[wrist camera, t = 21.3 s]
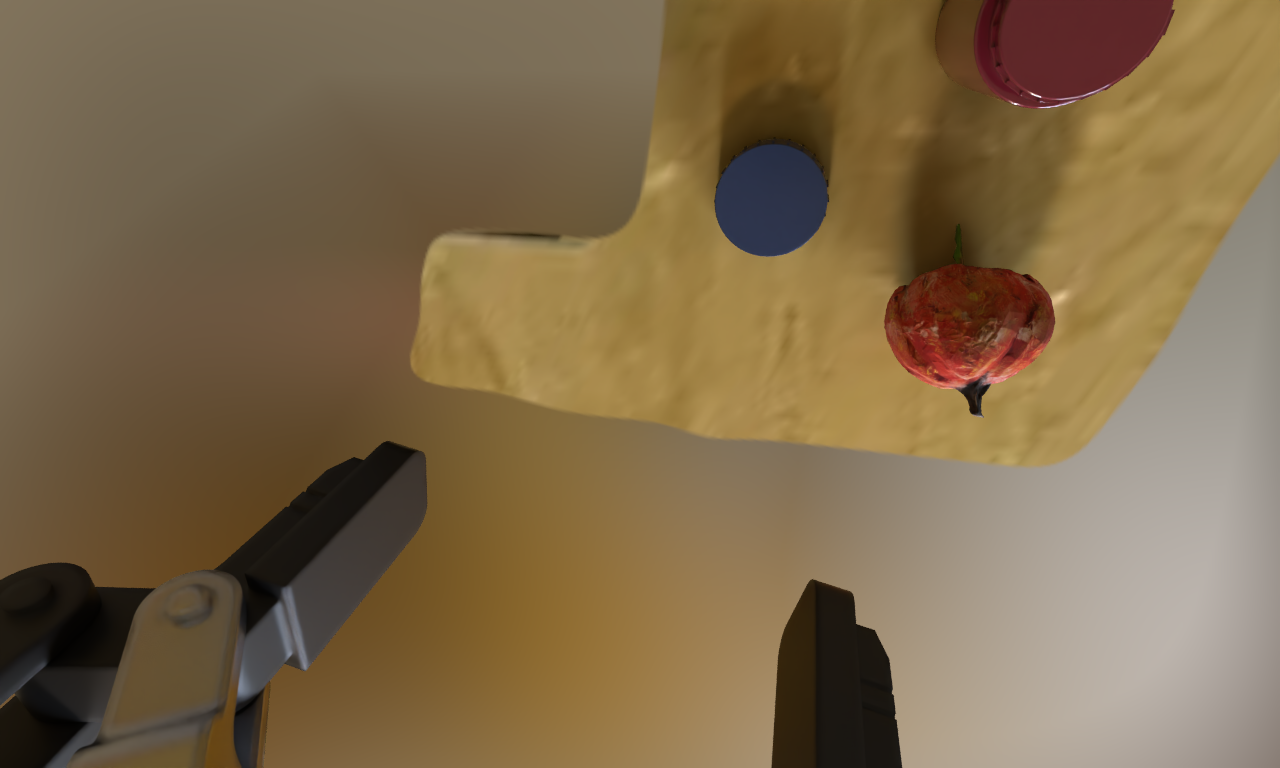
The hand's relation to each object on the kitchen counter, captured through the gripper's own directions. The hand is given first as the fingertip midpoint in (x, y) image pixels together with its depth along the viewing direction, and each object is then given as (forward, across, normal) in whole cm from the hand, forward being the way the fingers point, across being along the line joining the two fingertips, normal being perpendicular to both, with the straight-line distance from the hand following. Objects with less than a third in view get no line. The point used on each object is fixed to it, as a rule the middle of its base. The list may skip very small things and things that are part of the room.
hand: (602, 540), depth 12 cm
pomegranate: (+26, -12, +1) cm, 29 cm away
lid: (+24, -1, -1) cm, 24 cm away
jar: (+26, -9, -11) cm, 29 cm away
